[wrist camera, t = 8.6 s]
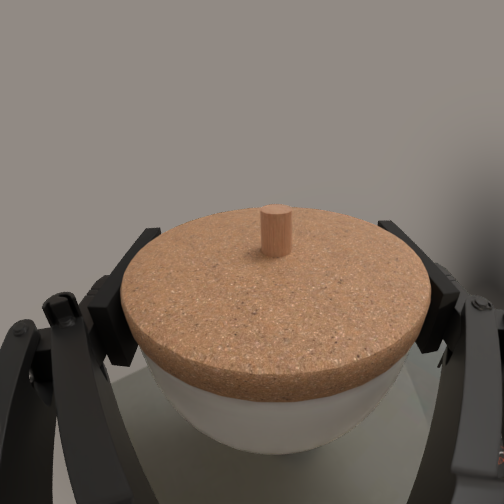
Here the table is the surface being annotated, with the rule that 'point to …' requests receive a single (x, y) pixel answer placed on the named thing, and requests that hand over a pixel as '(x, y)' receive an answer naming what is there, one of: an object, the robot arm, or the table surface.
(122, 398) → the table surface
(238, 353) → the trinket box
